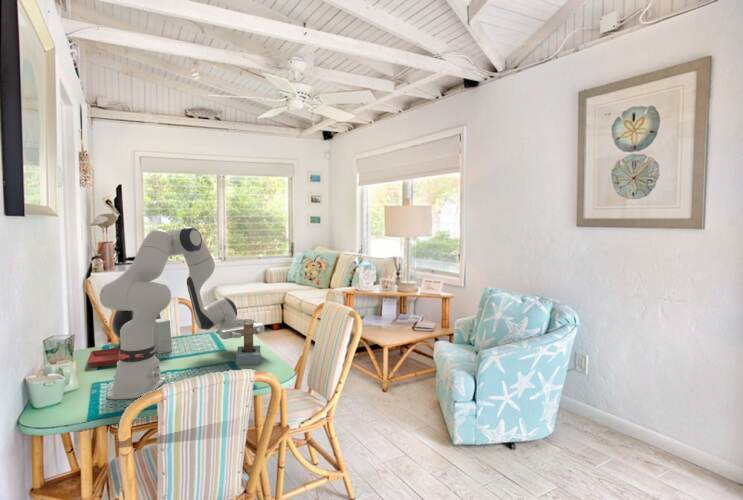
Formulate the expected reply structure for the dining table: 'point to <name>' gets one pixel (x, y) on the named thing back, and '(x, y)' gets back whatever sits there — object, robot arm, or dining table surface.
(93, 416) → the dining table surface
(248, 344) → the walnut dowel
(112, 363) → the plant saucer
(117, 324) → the amphora vase
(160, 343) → the skincare box
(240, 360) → the socket block
